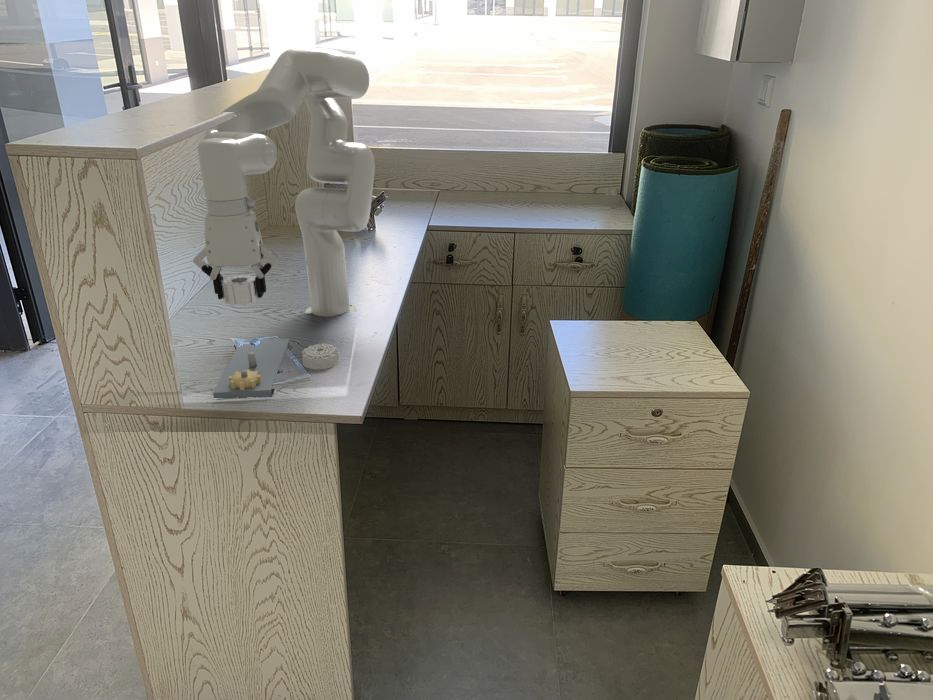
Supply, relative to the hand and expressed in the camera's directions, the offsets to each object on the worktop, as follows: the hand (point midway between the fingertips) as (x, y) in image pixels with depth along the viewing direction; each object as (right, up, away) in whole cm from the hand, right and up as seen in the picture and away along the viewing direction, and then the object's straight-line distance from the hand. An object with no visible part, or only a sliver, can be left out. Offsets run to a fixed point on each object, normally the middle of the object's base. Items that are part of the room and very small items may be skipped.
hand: (241, 295), depth 138 cm
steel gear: (0, -1, 0) cm, 1 cm away
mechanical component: (+14, -15, +10) cm, 23 cm away
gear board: (0, -15, +9) cm, 17 cm away
